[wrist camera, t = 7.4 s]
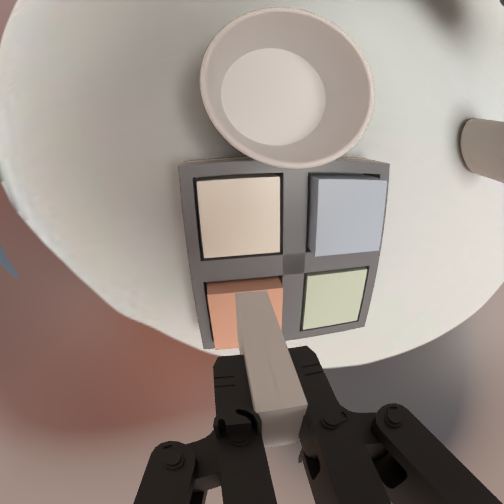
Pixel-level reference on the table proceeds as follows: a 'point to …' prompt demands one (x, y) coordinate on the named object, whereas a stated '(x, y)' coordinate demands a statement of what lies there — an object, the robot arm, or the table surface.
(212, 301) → the key
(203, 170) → the keypad
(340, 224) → the key
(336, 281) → the key
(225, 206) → the key
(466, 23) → the table surface
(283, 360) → the robot arm
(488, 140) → the can
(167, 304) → the table surface
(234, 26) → the food container
